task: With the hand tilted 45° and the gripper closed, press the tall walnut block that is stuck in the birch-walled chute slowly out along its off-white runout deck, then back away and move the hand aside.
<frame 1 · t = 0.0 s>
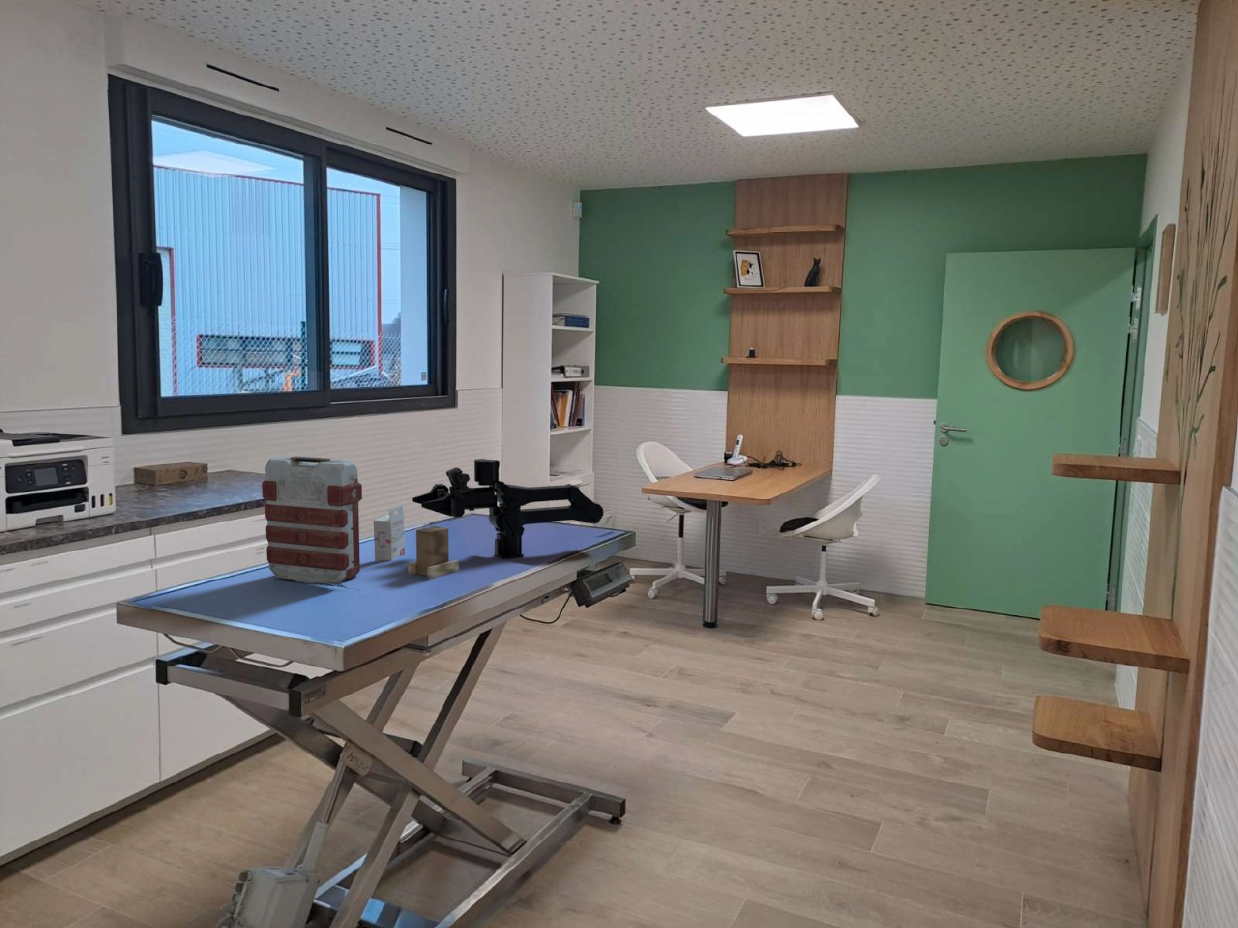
hand: (416, 502, 234), 17 cm above the table, tool horizontal, fingers open, 9 cm apart
block: (432, 550, 223), point 7 cm above the table, slide at 0.0 cm
chute: (428, 579, 222), on the table
ink cartridge box: (390, 561, 240), on the table
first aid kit: (314, 580, 220), on the table
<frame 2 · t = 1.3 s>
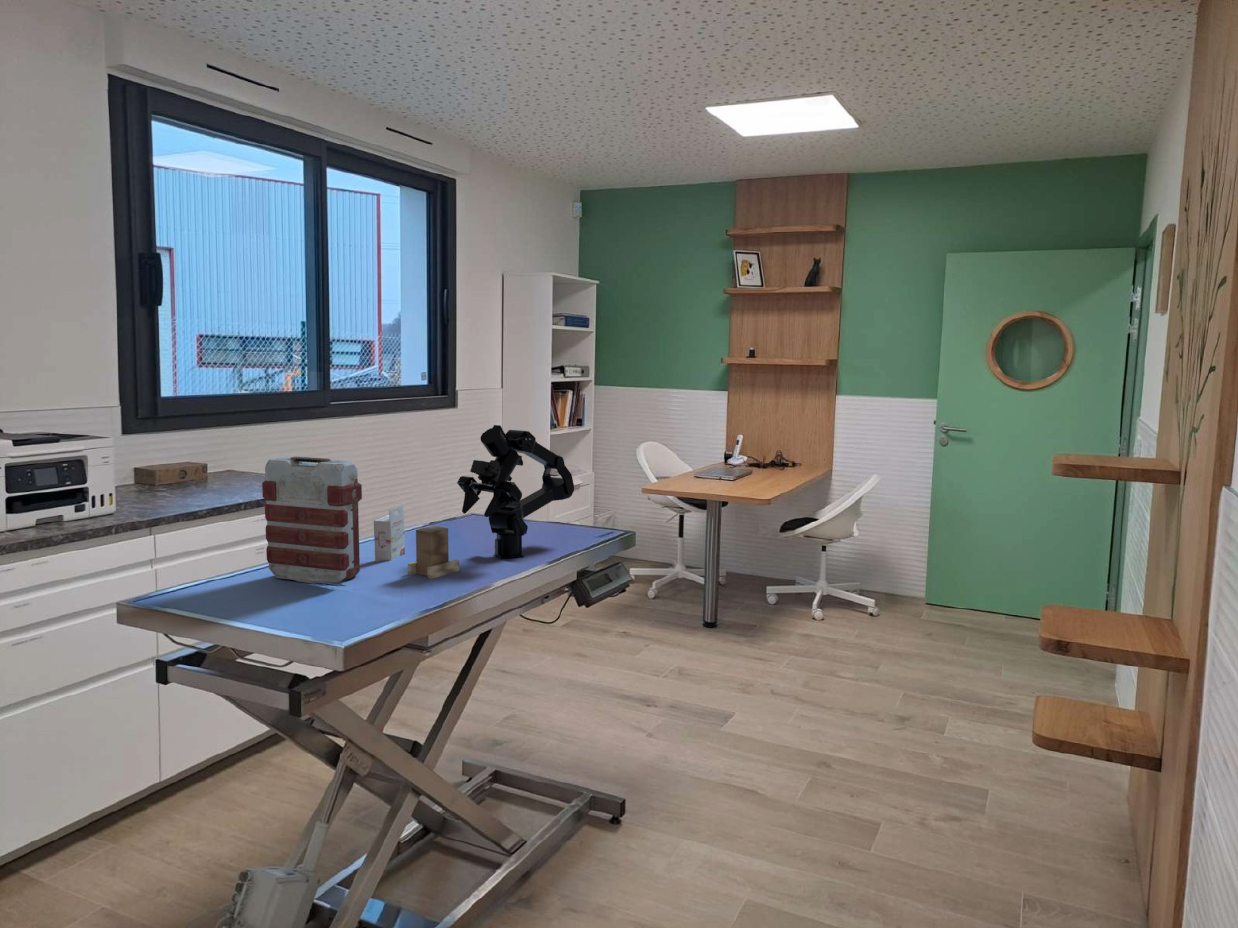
hand: (474, 514, 235), 14 cm above the table, tool tilted 45°, fingers open, 7 cm apart
nothing on the table moved.
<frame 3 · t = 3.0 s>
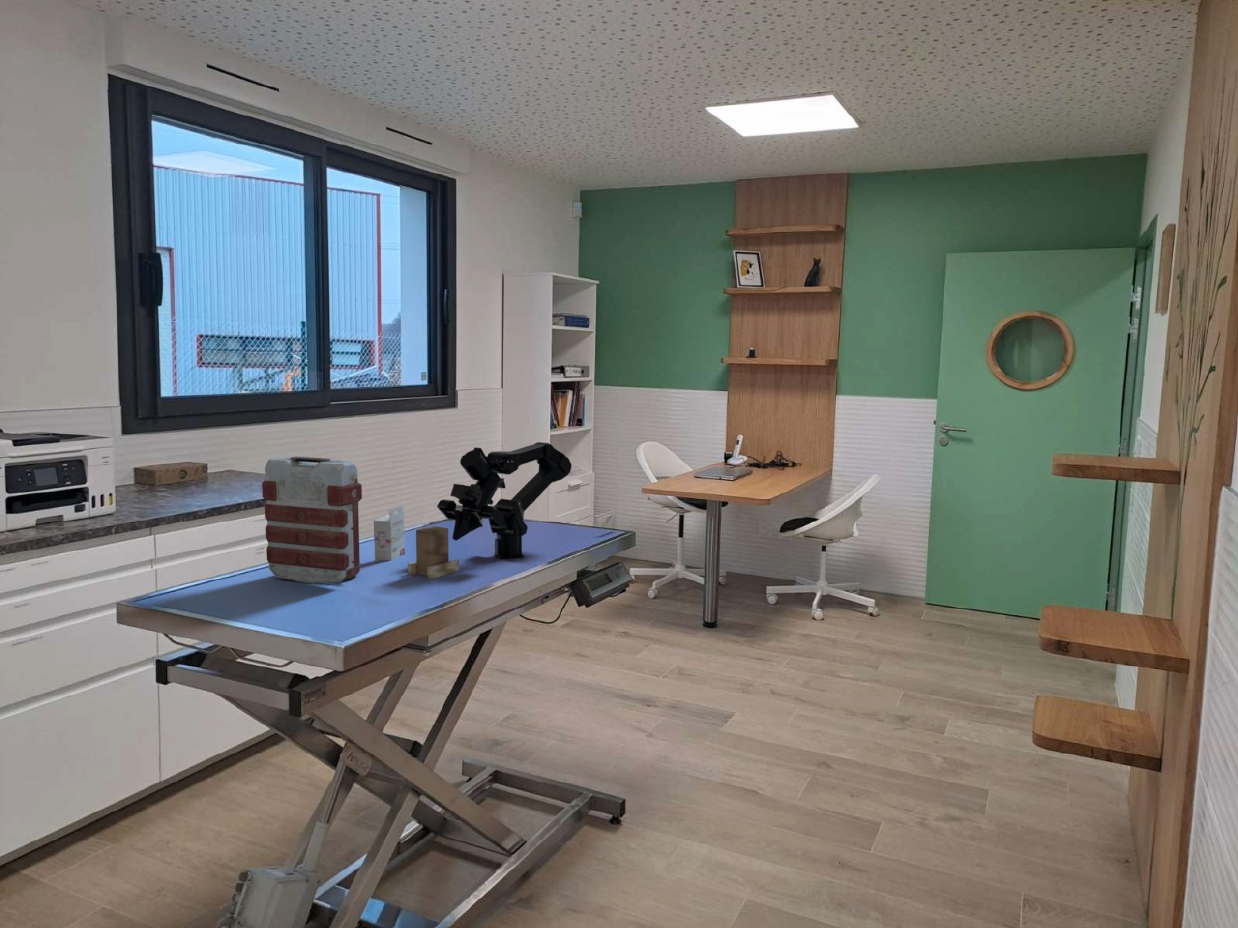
hand: (454, 539, 229), 8 cm above the table, tool tilted 45°, fingers closed
nothing on the table moved.
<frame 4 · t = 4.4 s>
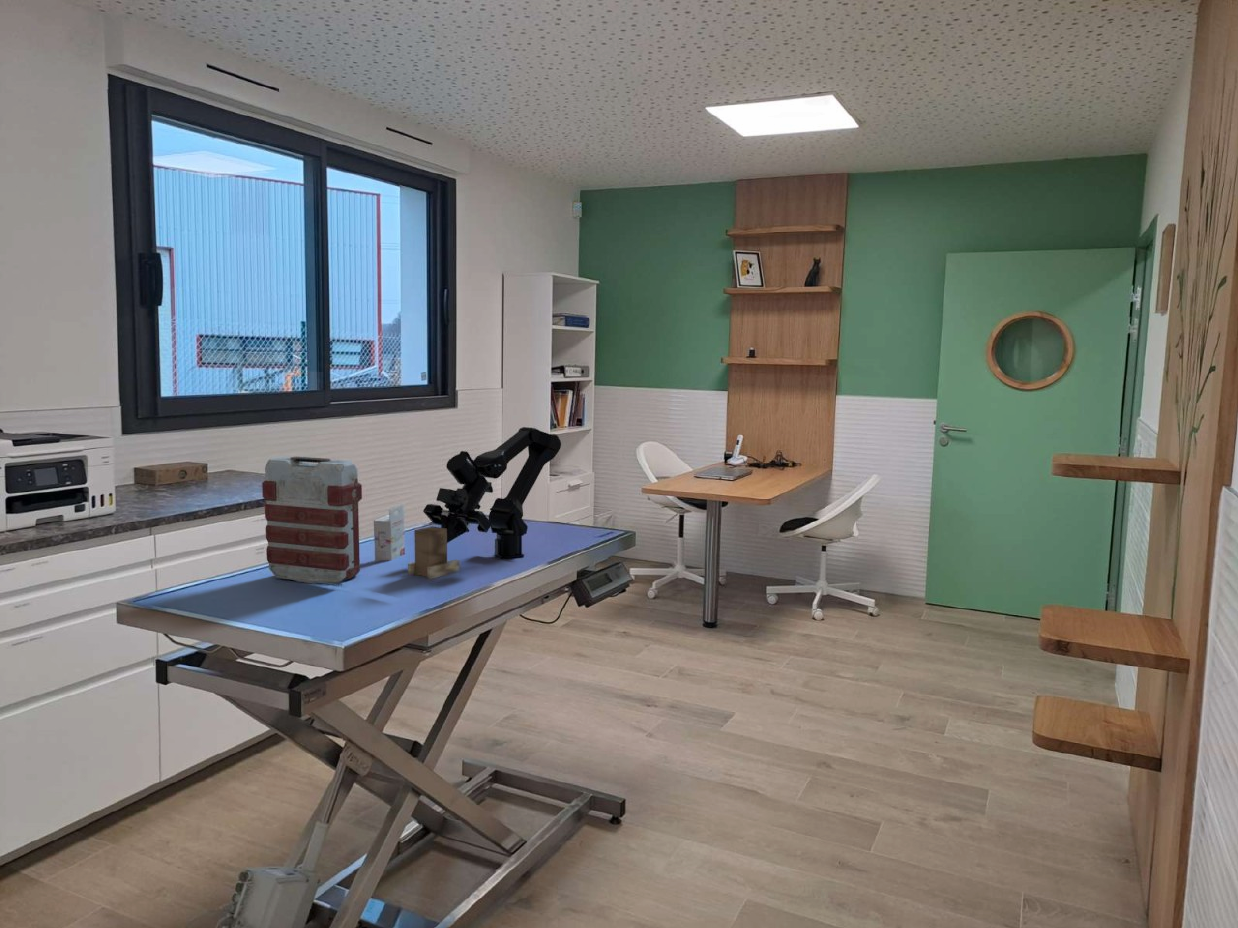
hand: (440, 544, 225), 8 cm above the table, tool tilted 45°, fingers closed, pressing on block
block: (430, 551, 222), point 7 cm above the table, slide at 0.5 cm, touching gripper
everything else where it was.
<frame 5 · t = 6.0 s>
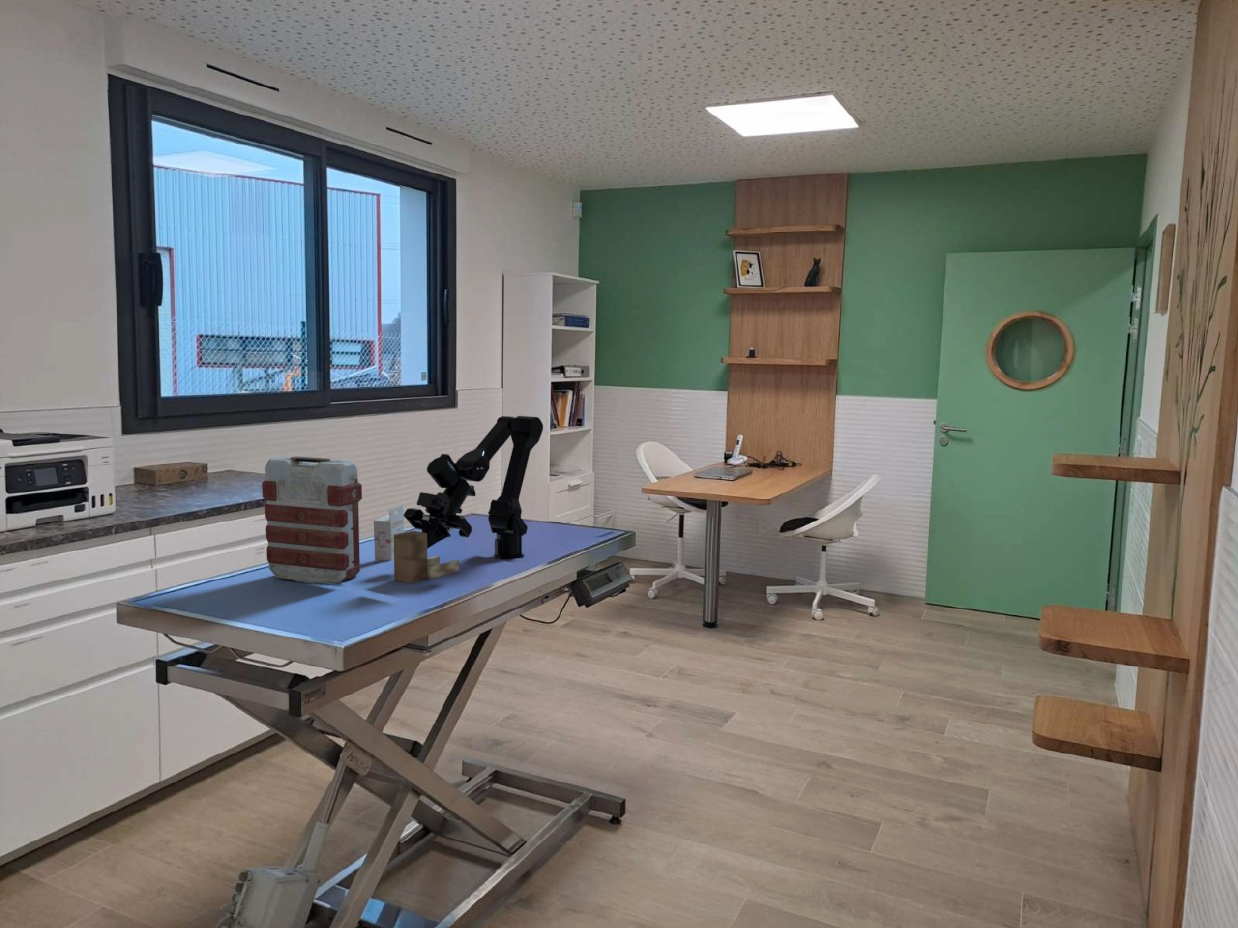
hand: (420, 550, 219), 8 cm above the table, tool tilted 45°, fingers closed, pressing on block
block: (410, 556, 217), point 7 cm above the table, slide at 7.3 cm, touching gripper
everything else where it was.
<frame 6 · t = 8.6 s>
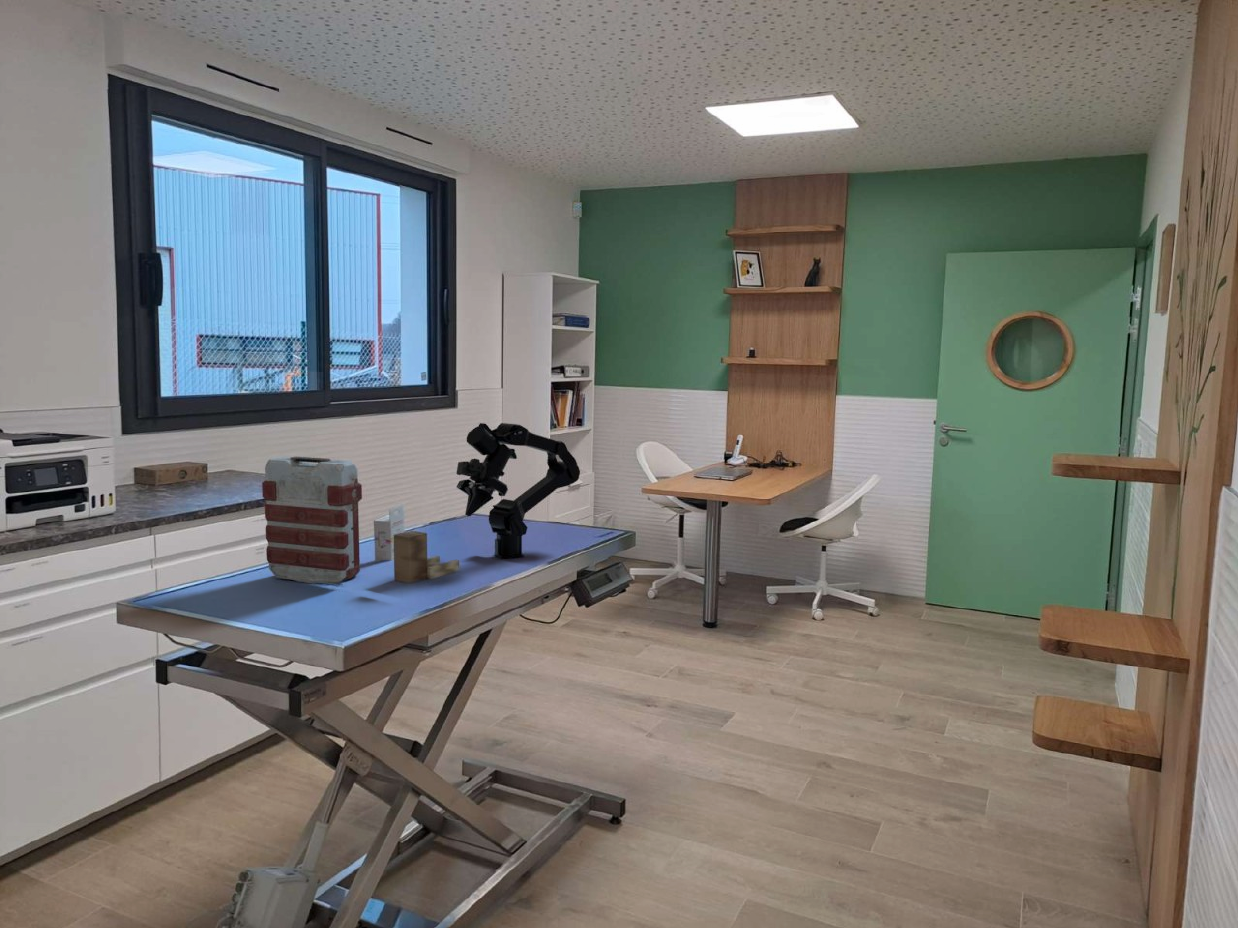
hand: (467, 515, 235), 13 cm above the table, tool tilted 35°, fingers closed
block: (410, 556, 217), point 7 cm above the table, slide at 7.3 cm
everything else where it was.
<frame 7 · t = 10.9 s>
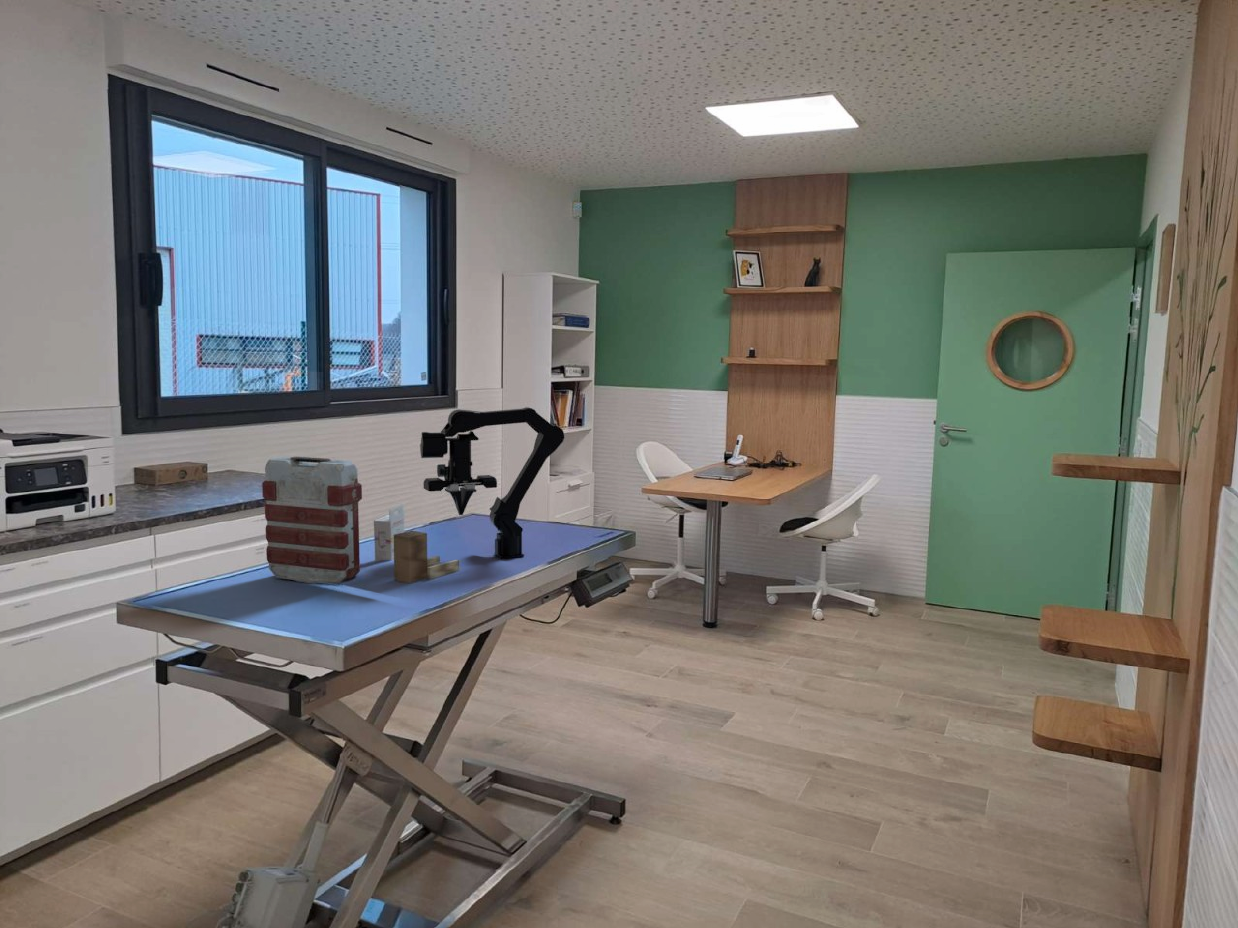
hand: (460, 514, 242), 12 cm above the table, tool pointing down, fingers closed
nothing on the table moved.
at the end: block slide at 7.3 cm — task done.
